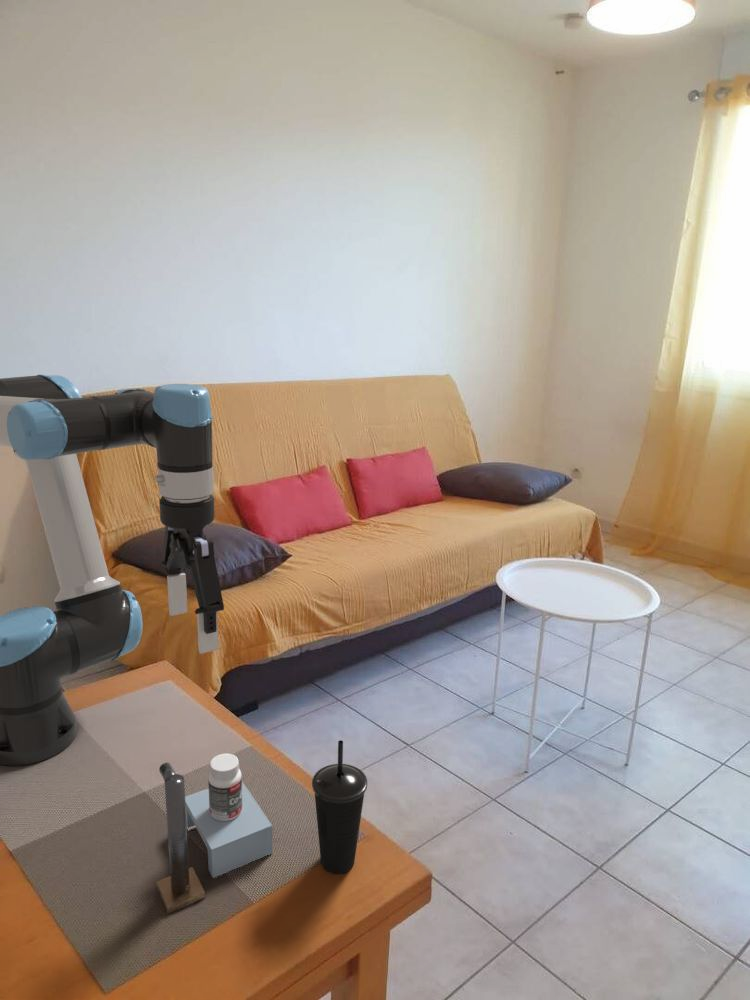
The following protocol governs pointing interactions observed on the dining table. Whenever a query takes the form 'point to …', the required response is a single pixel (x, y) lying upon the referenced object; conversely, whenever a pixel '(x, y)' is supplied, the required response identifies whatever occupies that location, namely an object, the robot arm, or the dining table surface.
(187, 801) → the light blue boxy piece
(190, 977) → the dining table surface
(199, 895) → the hook post
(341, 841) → the drinking cup
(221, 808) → the pill bottle
